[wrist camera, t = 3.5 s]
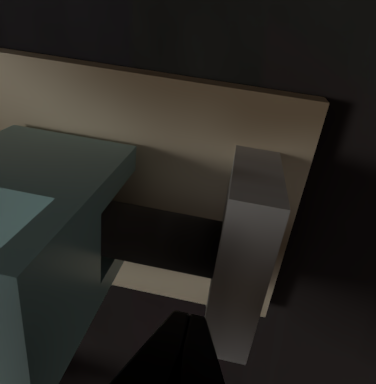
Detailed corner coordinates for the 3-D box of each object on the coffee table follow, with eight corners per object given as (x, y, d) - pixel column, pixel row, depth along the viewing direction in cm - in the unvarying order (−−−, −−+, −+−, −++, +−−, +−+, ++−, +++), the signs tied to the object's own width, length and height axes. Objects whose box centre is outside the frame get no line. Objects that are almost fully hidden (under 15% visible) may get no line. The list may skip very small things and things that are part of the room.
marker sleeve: (130, 248, 16) (36, 426, 9) (24, 227, 16) (-142, 379, 9) (136, 146, 14) (16, 277, 7) (13, 124, 14) (-216, 227, 7)
